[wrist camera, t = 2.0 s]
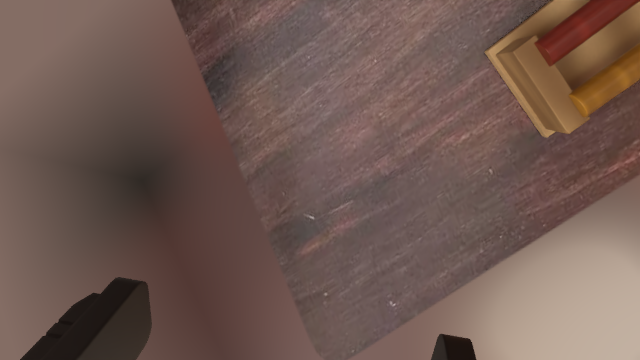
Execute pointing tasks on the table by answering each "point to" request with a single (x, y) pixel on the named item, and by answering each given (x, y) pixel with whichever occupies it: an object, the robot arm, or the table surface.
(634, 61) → the rod rack
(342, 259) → the table surface
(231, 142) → the table surface
